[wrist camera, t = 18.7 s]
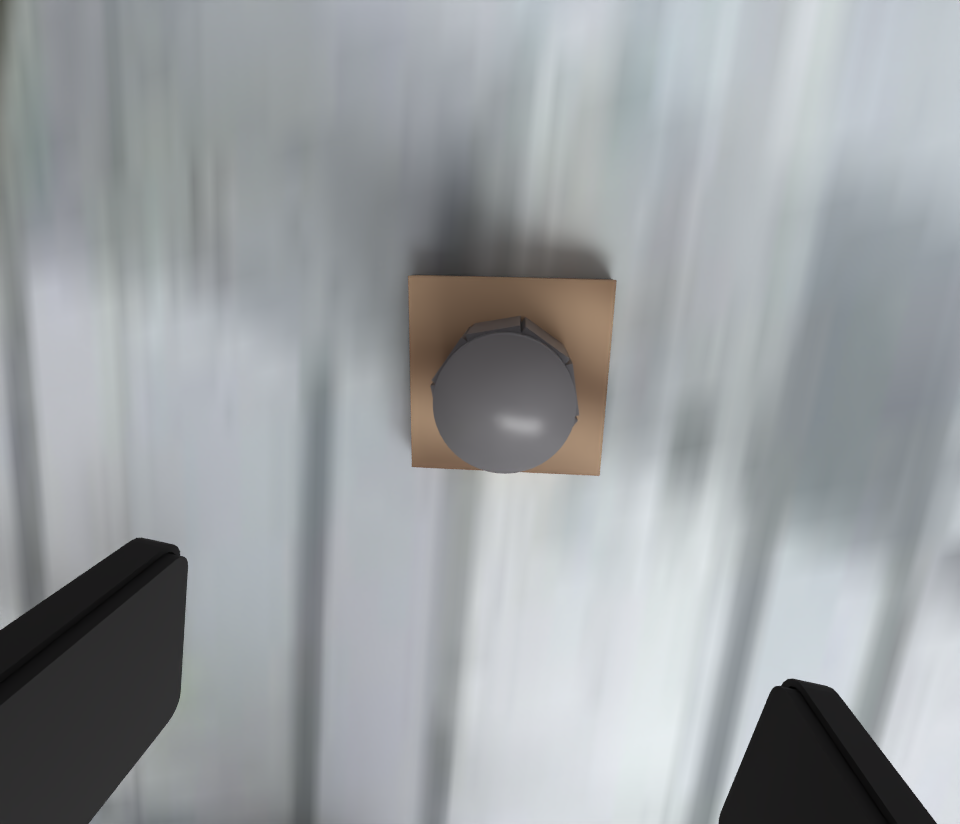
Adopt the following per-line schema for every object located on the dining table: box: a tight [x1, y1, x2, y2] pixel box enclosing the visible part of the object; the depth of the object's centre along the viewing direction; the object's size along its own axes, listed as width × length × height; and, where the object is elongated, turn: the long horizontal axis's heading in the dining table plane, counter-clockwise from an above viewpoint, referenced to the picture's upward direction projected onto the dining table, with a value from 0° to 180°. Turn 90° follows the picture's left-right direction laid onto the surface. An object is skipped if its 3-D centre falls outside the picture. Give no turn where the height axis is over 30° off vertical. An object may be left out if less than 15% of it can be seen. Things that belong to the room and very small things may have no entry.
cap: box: [430, 316, 579, 473], centre depth 25 cm, size 6×6×5 cm
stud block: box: [408, 275, 616, 476], centre depth 26 cm, size 10×10×5 cm
